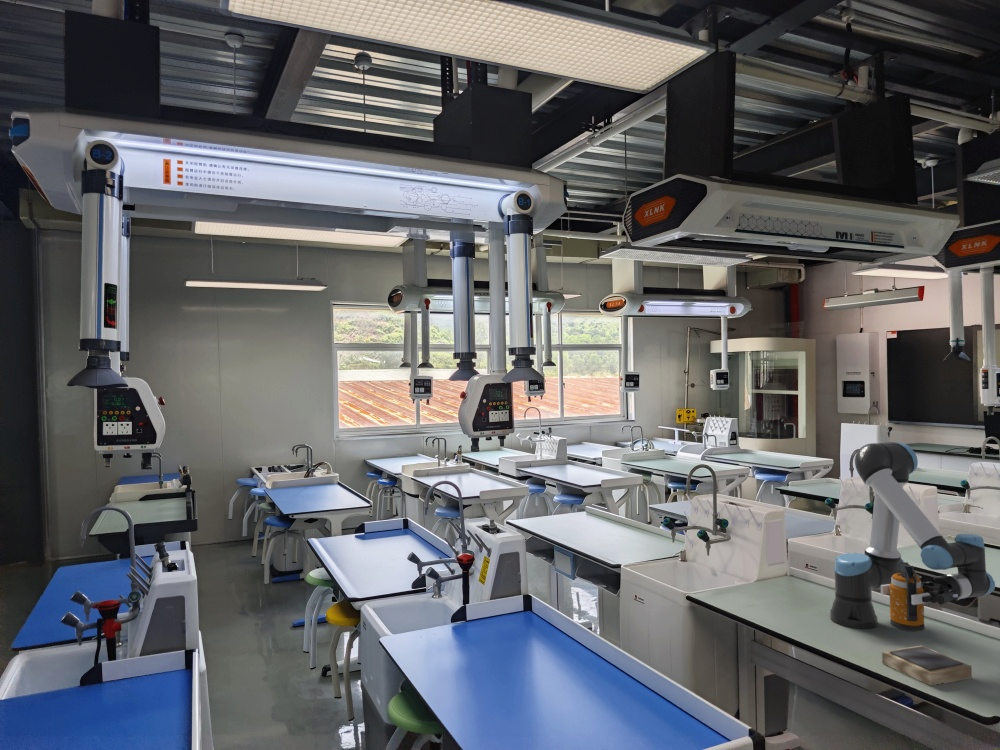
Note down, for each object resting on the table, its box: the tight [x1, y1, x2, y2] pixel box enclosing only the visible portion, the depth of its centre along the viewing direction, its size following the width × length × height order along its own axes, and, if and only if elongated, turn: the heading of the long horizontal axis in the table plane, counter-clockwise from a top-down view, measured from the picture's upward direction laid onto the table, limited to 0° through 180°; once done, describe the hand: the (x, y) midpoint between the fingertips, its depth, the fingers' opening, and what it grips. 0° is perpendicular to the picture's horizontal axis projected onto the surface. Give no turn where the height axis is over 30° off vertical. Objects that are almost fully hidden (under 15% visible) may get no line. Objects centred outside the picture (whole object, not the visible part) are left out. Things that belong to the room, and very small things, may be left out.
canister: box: [889, 561, 925, 633], centre depth 204 cm, size 9×11×20 cm
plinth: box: [881, 645, 973, 686], centre depth 198 cm, size 16×16×4 cm
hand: (896, 594), depth 203 cm, fingers closed on canister, 10 cm apart
